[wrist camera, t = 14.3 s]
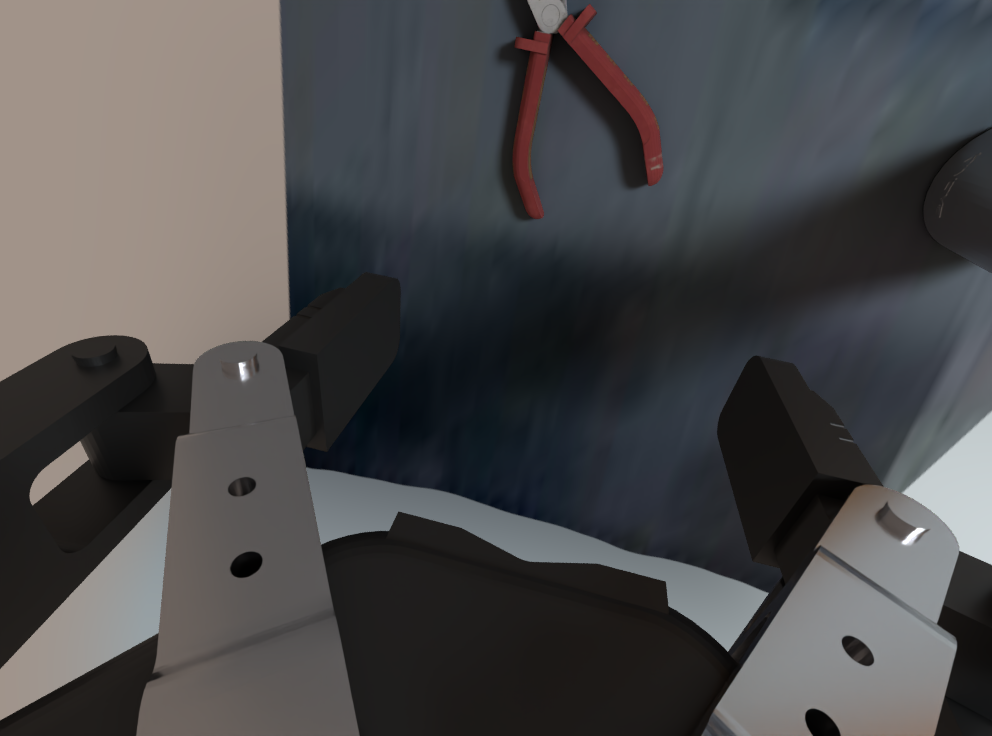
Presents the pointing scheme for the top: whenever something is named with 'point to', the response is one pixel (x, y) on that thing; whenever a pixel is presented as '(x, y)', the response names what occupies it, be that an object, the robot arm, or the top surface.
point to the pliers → (552, 19)
